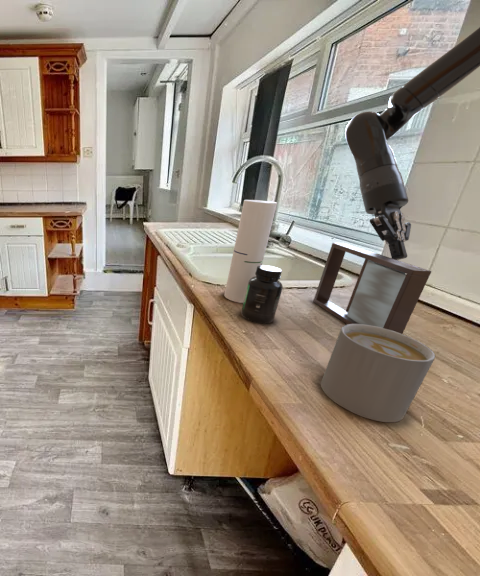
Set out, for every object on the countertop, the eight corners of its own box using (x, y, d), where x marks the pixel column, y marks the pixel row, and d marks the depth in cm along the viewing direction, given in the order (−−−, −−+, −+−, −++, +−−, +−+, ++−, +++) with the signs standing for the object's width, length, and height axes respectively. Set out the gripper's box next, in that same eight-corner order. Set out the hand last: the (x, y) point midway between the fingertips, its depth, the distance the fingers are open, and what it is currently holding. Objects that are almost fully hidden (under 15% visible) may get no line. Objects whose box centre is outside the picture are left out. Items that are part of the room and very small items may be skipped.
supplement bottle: (235, 315, 71) (246, 266, 67) (248, 308, 76) (260, 261, 71) (265, 327, 67) (280, 275, 62) (278, 318, 71) (292, 269, 66)
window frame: (312, 301, 81) (332, 242, 76) (325, 302, 81) (345, 243, 75) (379, 346, 61) (413, 270, 55) (396, 347, 61) (431, 271, 55)
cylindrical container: (230, 290, 87) (250, 199, 77) (257, 298, 82) (281, 202, 73) (219, 296, 82) (239, 200, 73) (247, 305, 77) (271, 203, 68)
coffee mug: (412, 434, 40) (447, 371, 36) (321, 402, 45) (344, 344, 41) (390, 380, 51) (416, 327, 47) (319, 359, 56) (337, 310, 52)
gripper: (386, 176, 68) (406, 250, 64) (416, 187, 73) (436, 256, 69) (348, 192, 74) (363, 260, 70) (378, 202, 79) (394, 265, 76)
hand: (399, 258), depth 70 cm, fingers closed
